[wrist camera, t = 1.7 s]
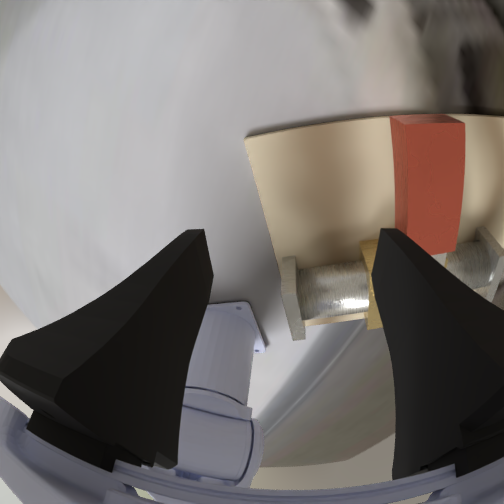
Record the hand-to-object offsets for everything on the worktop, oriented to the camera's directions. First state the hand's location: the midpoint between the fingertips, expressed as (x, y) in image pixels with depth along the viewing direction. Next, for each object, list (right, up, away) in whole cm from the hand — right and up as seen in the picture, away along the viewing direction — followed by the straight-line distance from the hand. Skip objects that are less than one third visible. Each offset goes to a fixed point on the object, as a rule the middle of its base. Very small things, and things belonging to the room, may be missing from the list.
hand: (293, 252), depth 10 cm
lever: (+8, +1, +5) cm, 10 cm away
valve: (+10, -1, +12) cm, 16 cm away
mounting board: (+11, +2, +10) cm, 15 cm away
